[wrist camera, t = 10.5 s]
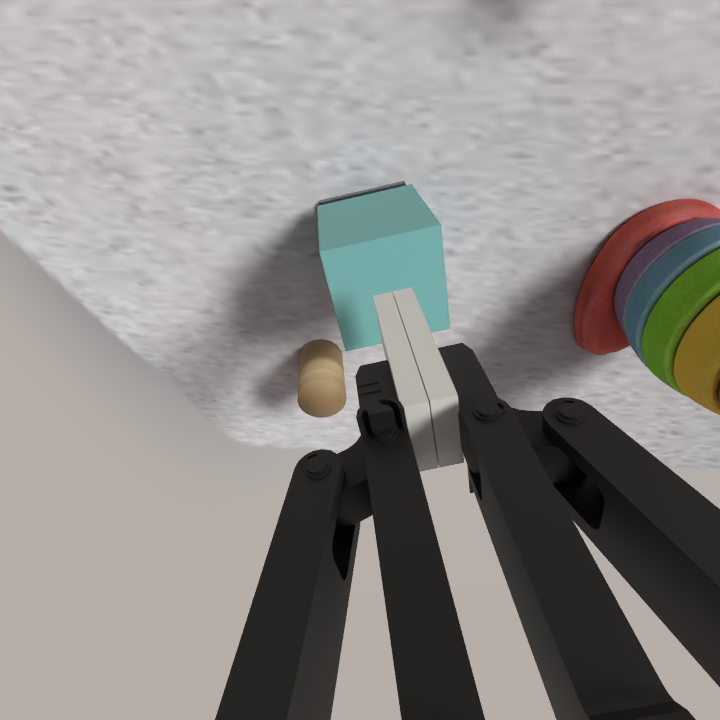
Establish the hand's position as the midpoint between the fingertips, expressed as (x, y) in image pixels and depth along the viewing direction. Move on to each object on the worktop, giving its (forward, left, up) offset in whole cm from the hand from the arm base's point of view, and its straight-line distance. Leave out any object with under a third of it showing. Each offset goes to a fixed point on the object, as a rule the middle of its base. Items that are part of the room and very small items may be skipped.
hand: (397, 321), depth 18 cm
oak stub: (+8, -5, -10) cm, 14 cm away
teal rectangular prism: (0, 0, -9) cm, 9 cm away
